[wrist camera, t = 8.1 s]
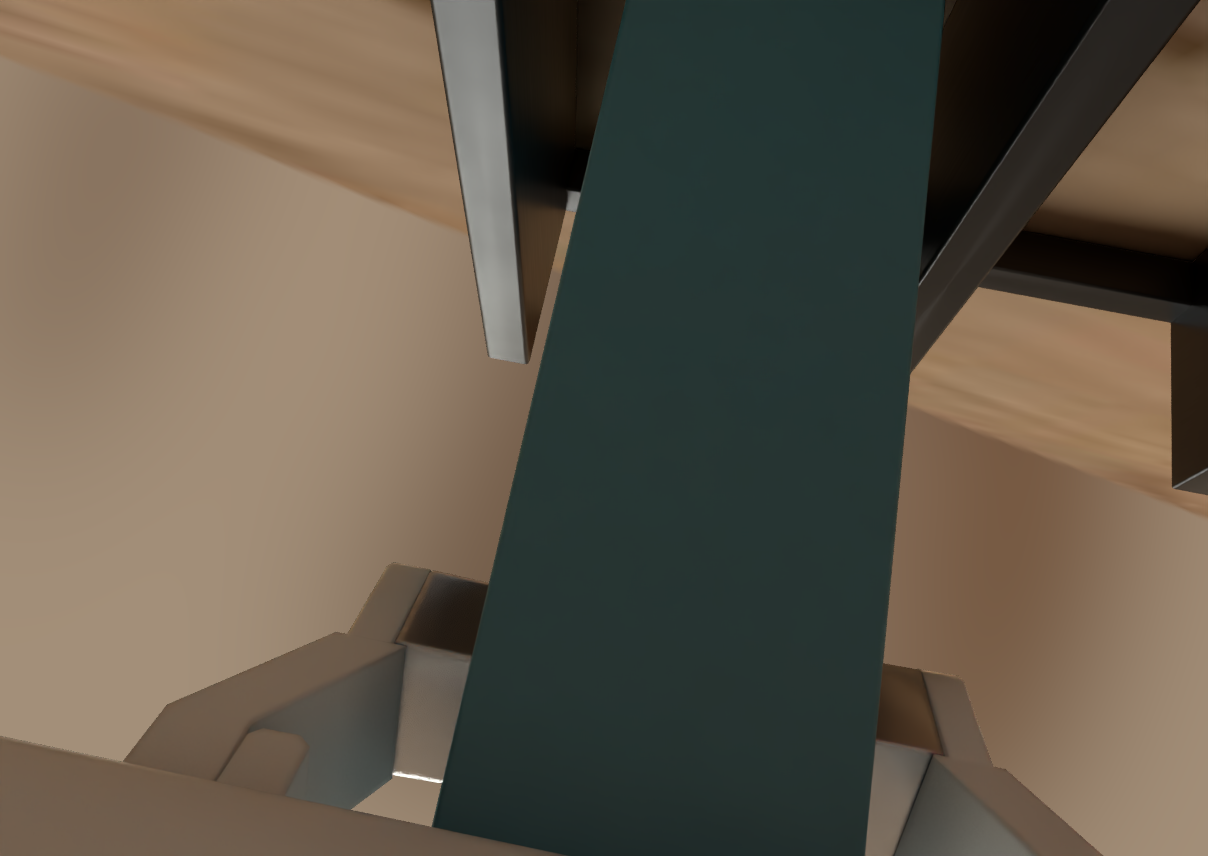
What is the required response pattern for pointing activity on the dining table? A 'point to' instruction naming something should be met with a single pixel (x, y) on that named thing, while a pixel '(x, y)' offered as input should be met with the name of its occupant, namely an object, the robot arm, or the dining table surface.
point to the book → (713, 448)
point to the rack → (955, 187)
